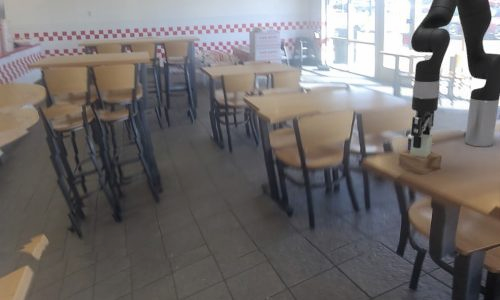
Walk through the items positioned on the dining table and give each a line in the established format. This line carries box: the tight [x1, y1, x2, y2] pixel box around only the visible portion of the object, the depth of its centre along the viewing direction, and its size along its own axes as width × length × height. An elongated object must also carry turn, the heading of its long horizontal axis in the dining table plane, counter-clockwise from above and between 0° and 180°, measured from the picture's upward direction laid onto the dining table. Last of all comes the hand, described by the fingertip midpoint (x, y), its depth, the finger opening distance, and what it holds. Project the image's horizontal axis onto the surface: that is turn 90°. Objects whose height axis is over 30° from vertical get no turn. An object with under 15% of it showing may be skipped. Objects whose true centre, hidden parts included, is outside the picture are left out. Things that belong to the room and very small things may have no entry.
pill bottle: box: [406, 127, 418, 151], centre depth 144 cm, size 5×5×10 cm
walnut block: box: [398, 150, 443, 176], centre depth 134 cm, size 9×9×5 cm
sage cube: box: [410, 134, 433, 157], centre depth 132 cm, size 5×5×6 cm
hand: (421, 144), depth 132 cm, fingers open, 8 cm apart
